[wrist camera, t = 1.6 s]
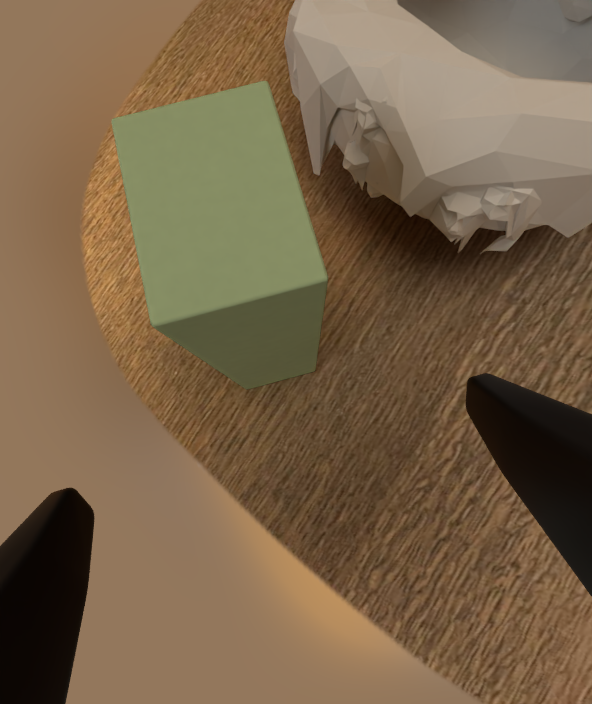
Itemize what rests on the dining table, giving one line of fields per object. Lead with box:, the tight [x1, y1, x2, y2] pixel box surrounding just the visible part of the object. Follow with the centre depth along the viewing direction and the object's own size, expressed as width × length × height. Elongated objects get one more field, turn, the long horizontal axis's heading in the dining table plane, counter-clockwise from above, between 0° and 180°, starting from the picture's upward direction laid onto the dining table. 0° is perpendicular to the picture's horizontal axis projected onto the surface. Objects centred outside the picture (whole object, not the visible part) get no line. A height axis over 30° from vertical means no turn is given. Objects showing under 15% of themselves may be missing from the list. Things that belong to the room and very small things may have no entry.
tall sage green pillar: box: [112, 81, 328, 390], centre depth 15 cm, size 4×6×13 cm
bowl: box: [284, 0, 592, 254], centre depth 19 cm, size 21×20×10 cm
